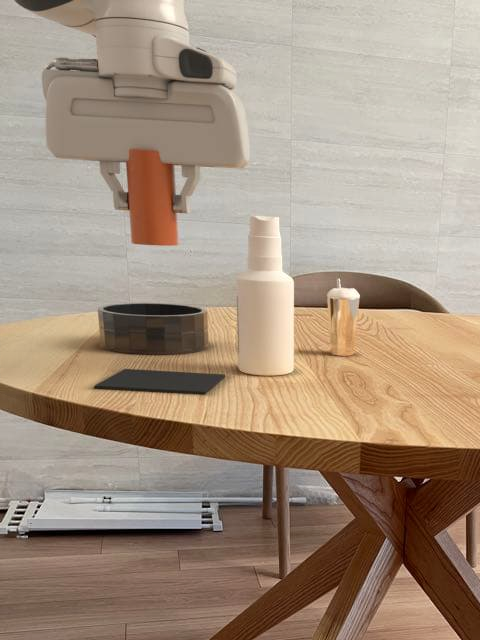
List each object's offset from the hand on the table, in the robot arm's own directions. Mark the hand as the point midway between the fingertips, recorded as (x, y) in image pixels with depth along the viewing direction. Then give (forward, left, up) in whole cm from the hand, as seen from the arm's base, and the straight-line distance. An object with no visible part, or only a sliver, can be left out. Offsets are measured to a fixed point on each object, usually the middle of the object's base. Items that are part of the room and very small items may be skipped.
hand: (153, 211), depth 87 cm
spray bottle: (+10, +10, -18) cm, 23 cm away
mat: (0, 0, -18) cm, 18 cm away
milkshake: (+18, +26, -18) cm, 36 cm away
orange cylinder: (0, 0, -3) cm, 3 cm away
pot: (-8, +24, -18) cm, 31 cm away
